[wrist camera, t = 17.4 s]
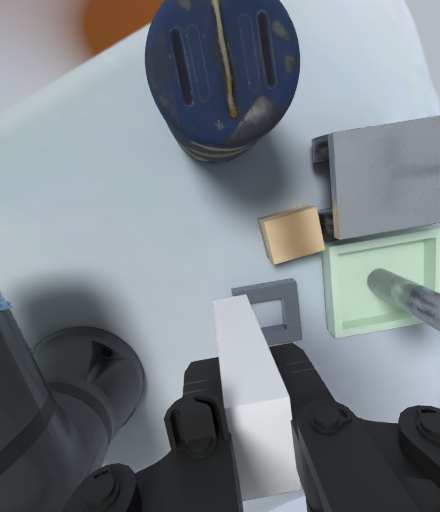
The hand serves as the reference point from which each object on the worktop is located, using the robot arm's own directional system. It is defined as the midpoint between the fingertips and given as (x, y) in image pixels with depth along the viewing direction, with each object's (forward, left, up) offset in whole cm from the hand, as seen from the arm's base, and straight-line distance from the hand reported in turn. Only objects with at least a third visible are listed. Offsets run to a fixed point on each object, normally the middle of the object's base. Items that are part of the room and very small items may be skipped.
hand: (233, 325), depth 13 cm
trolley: (+18, +4, -24) cm, 30 cm away
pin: (+20, -9, -23) cm, 32 cm away
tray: (+20, -9, -24) cm, 32 cm away
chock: (+9, -1, -24) cm, 26 cm away
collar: (+5, -11, -24) cm, 27 cm away
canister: (+2, +13, -24) cm, 27 cm away
